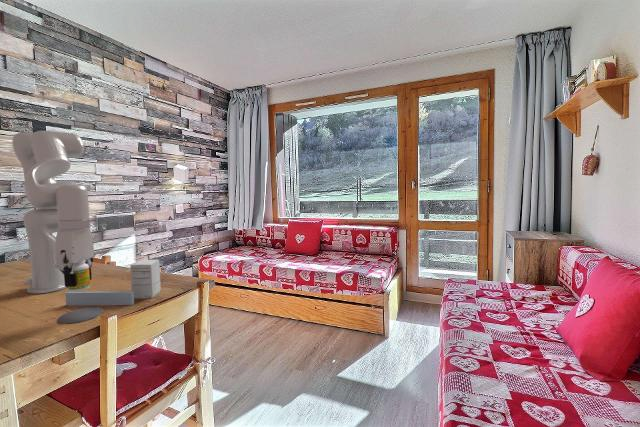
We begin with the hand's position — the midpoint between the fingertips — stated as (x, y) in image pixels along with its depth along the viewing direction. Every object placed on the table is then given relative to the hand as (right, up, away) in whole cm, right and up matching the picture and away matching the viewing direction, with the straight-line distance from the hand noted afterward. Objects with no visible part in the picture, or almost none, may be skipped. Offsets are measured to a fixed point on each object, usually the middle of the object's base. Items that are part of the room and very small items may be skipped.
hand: (78, 282), depth 95 cm
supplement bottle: (0, -2, 0) cm, 2 cm away
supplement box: (+10, -9, +19) cm, 24 cm away
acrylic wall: (0, -10, +10) cm, 14 cm away
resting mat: (0, -11, +1) cm, 11 cm away
